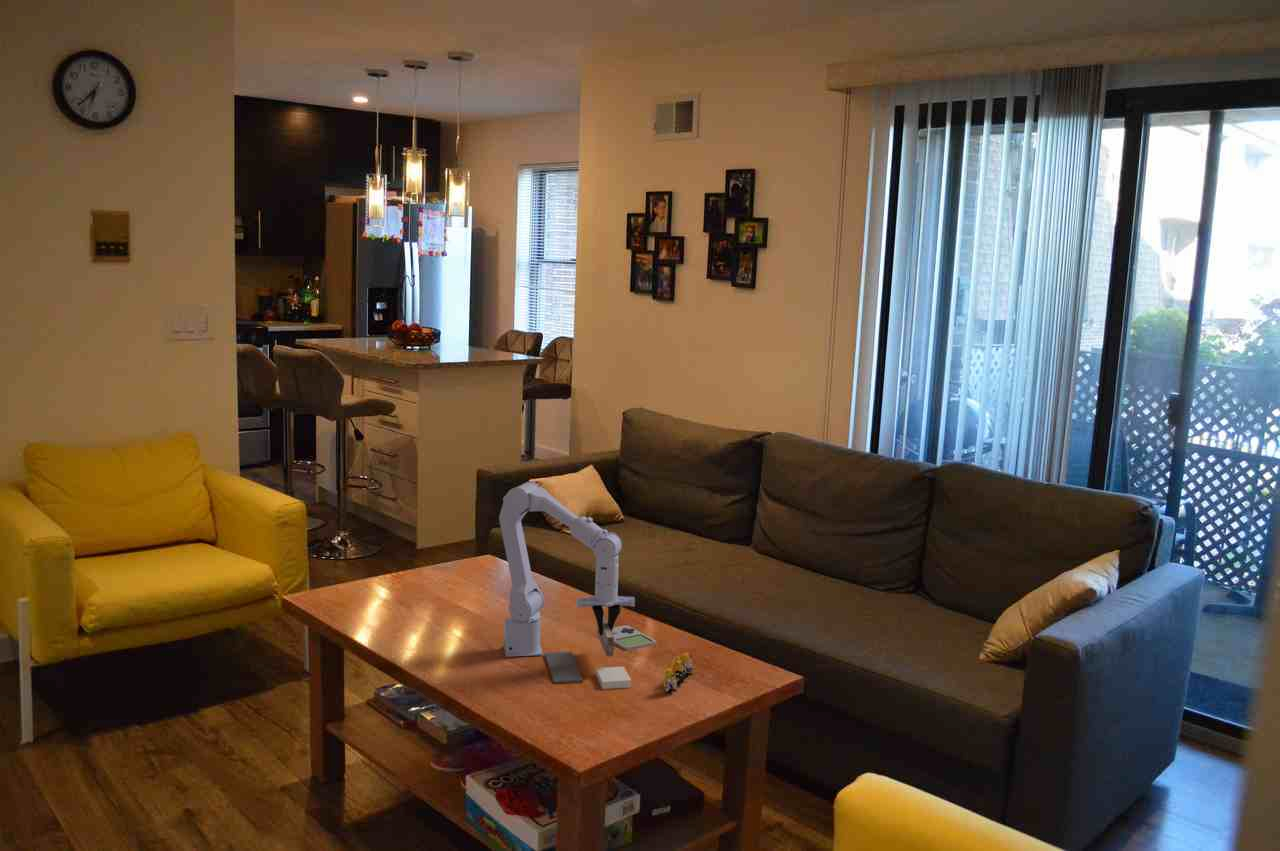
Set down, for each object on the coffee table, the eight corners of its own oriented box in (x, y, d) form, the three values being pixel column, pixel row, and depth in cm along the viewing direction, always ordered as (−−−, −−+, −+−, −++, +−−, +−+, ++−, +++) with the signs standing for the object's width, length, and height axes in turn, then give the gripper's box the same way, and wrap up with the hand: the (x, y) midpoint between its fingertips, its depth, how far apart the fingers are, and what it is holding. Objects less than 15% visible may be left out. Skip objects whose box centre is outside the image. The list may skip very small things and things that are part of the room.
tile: (595, 676, 257) (602, 690, 248) (596, 668, 257) (602, 682, 248) (623, 674, 258) (631, 688, 250) (623, 666, 258) (631, 680, 249)
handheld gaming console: (627, 623, 292) (657, 640, 279) (627, 629, 292) (657, 645, 279) (596, 629, 286) (626, 646, 274) (596, 635, 286) (626, 652, 274)
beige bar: (606, 656, 257) (607, 637, 256) (596, 632, 272) (597, 614, 271) (613, 656, 257) (614, 637, 256) (602, 632, 272) (603, 614, 272)
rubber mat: (553, 683, 250) (553, 681, 250) (544, 655, 269) (544, 652, 269) (582, 682, 252) (582, 679, 252) (571, 653, 270) (571, 651, 270)
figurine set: (658, 695, 246) (659, 668, 245) (682, 671, 261) (683, 646, 260) (672, 698, 245) (673, 671, 244) (695, 674, 260) (696, 649, 259)
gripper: (580, 587, 257) (578, 640, 259) (638, 586, 260) (636, 638, 262) (576, 579, 264) (575, 630, 266) (632, 577, 267) (630, 628, 269)
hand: (605, 633), depth 264 cm, fingers closed on beige bar, 2 cm apart
